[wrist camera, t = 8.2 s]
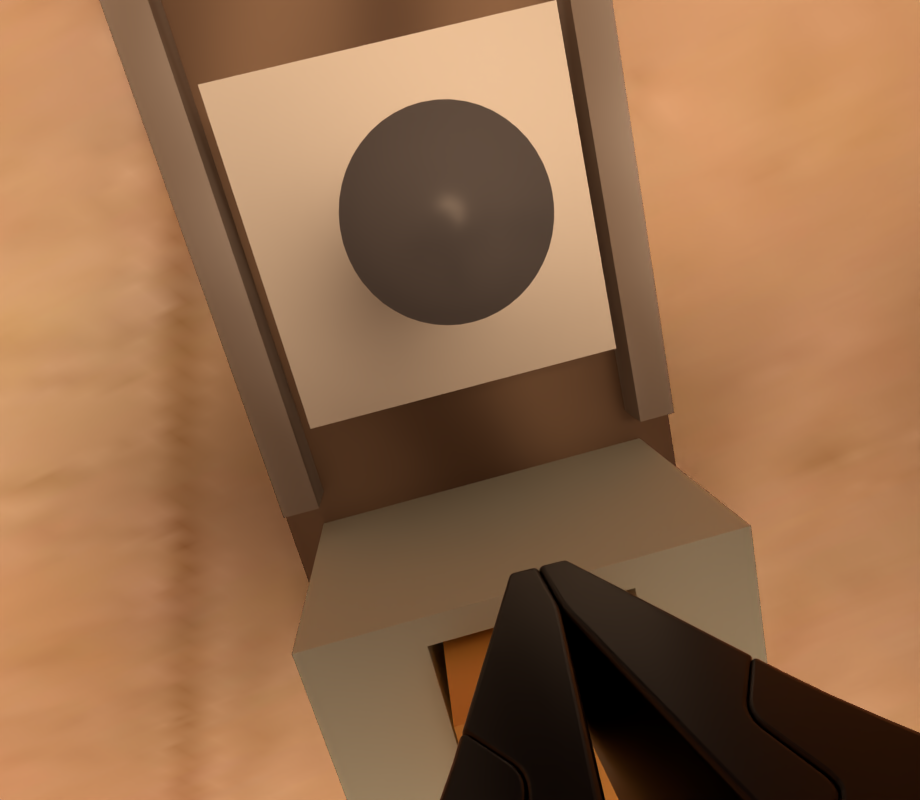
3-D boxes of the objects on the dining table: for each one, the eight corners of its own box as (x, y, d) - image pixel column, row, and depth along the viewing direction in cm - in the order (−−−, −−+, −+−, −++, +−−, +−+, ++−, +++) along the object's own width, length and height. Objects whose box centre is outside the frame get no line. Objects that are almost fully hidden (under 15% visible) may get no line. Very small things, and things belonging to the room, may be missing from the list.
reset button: (581, 537, 16) (664, 666, 11) (607, 661, 17) (693, 827, 12) (435, 578, 16) (453, 726, 11) (470, 701, 17) (501, 885, 12)
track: (519, -396, 14) (547, -537, 12) (674, 570, 22) (713, 615, 19) (20, -293, 14) (-66, -416, 11) (351, 661, 21) (345, 720, 19)
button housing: (639, 437, 19) (750, 525, 13) (666, 601, 20) (776, 745, 14) (323, 523, 18) (291, 654, 12) (377, 683, 20) (371, 865, 14)
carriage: (535, 30, 15) (683, -191, 7) (591, 336, 17) (751, 411, 10) (222, 105, 15) (39, -45, 7) (319, 408, 17) (259, 545, 9)
